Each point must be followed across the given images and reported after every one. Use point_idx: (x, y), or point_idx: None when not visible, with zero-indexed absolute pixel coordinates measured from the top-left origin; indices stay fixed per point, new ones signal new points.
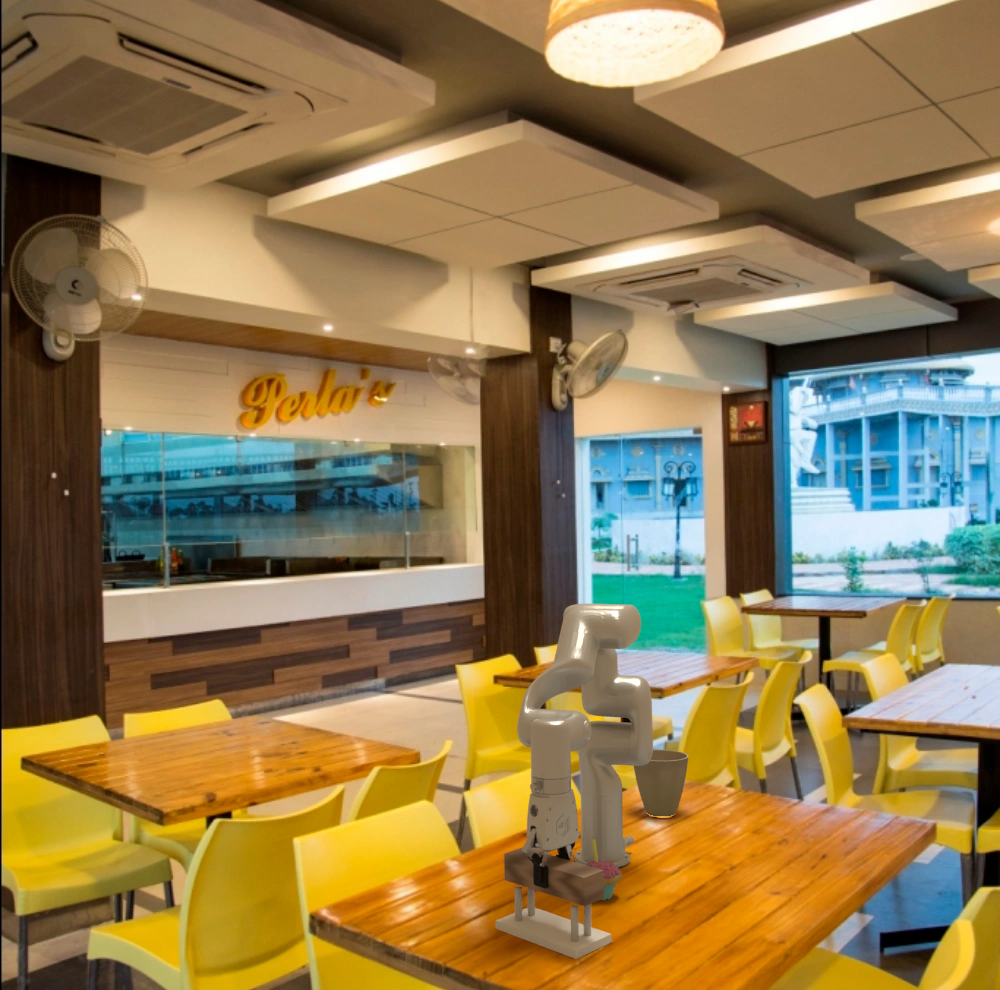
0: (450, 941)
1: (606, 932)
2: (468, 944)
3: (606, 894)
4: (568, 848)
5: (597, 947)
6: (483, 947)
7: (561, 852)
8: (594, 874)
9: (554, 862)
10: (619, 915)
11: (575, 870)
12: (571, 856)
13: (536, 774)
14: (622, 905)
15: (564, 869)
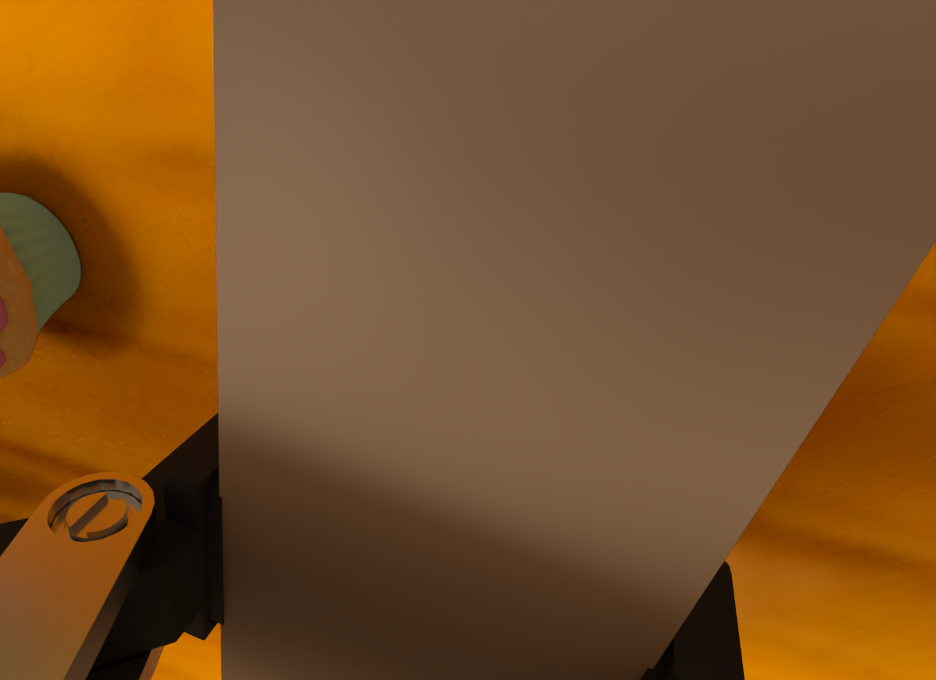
0: (848, 661)
1: None
2: (859, 594)
3: (17, 208)
4: (47, 612)
5: None
6: (877, 529)
7: (151, 624)
8: None
9: (419, 612)
10: (124, 47)
11: (648, 171)
12: (111, 472)
13: None
14: (25, 98)
15: (681, 411)
